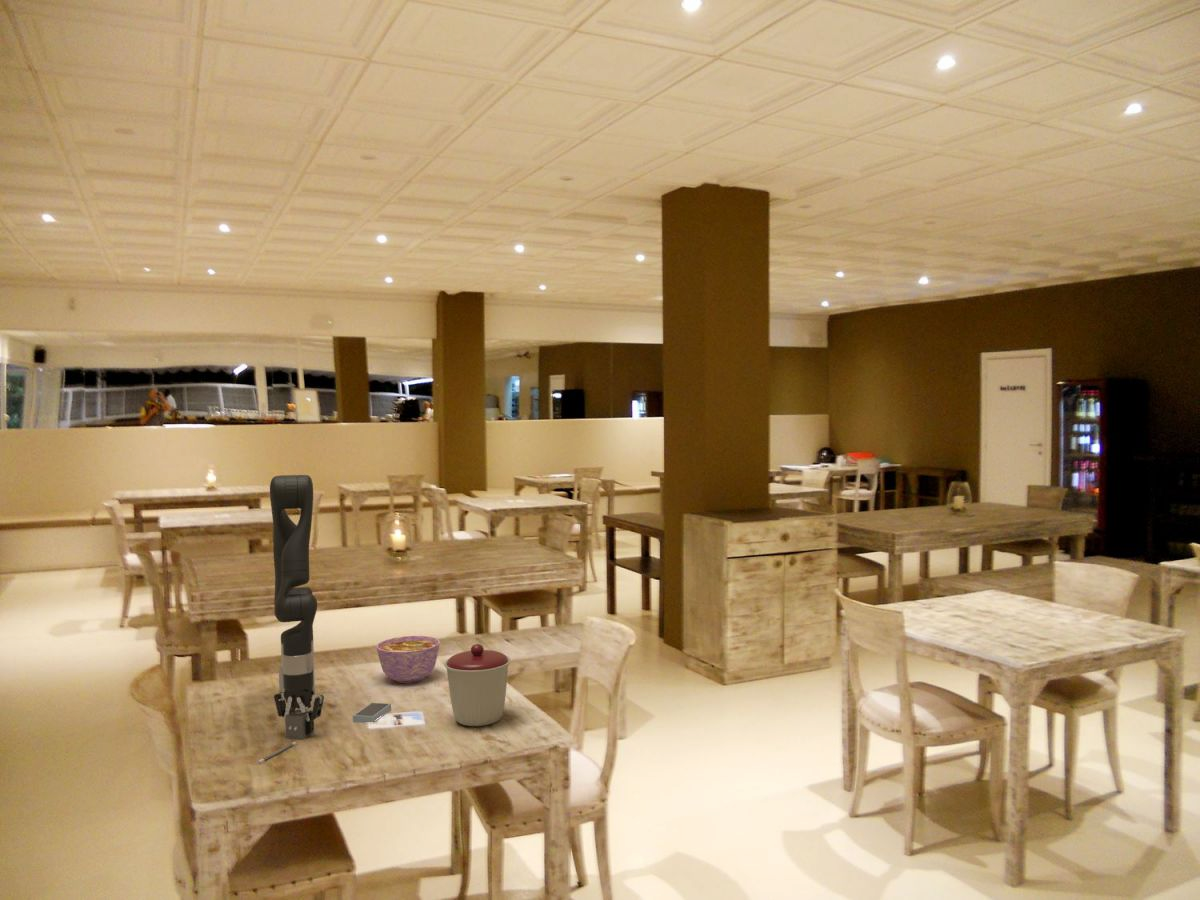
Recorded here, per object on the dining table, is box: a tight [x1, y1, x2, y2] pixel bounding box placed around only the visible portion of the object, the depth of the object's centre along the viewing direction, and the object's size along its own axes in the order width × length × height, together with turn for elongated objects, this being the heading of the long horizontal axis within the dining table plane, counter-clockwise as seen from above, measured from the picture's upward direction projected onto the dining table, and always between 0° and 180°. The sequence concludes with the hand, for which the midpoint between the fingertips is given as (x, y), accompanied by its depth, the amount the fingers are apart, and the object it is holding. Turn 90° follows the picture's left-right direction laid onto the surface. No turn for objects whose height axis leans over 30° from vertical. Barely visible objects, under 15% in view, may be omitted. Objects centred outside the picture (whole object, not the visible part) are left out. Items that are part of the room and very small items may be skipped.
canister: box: [443, 643, 512, 727], centre depth 235 cm, size 18×18×21 cm
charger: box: [284, 708, 315, 741], centre depth 226 cm, size 5×6×6 cm
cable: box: [258, 741, 297, 764], centre depth 214 cm, size 13×1×1 cm, turn 160°
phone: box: [352, 702, 392, 723], centre depth 241 cm, size 6×11×2 cm, turn 168°
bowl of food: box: [376, 635, 441, 684], centre depth 274 cm, size 20×20×12 cm
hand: (300, 732), depth 226 cm, fingers closed on charger, 5 cm apart
